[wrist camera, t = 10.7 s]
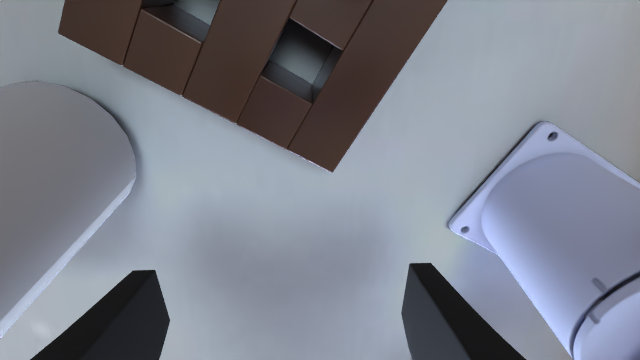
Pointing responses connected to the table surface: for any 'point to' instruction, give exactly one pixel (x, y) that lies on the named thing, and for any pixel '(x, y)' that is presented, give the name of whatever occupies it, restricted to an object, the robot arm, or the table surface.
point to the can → (53, 184)
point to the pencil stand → (263, 60)
